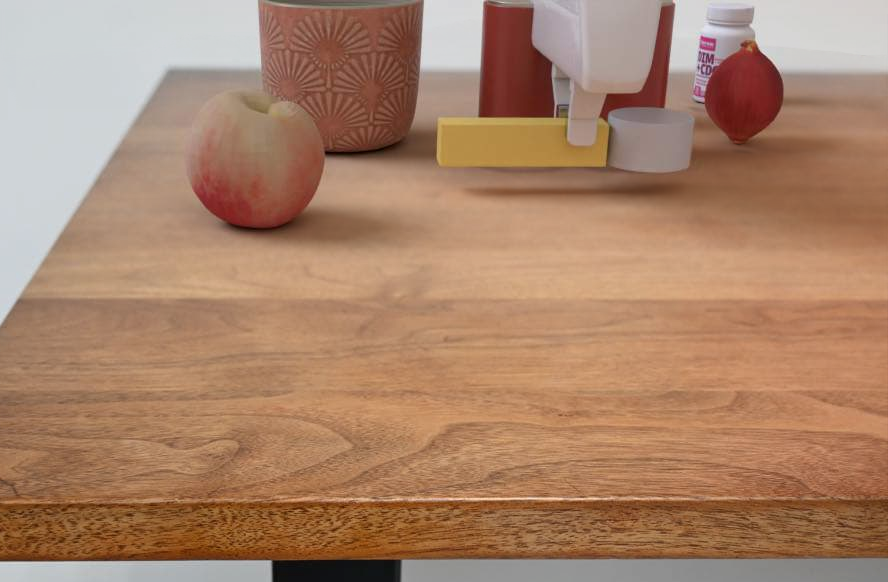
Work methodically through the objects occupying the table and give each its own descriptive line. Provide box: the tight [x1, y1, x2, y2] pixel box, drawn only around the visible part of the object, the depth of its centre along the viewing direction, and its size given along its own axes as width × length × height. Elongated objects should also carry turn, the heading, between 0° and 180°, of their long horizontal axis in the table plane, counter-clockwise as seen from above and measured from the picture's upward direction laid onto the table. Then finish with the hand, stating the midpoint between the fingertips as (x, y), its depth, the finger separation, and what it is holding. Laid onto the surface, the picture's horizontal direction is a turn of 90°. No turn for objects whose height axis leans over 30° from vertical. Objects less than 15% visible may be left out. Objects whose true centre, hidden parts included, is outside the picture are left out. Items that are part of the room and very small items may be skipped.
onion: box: [704, 39, 785, 145], centre depth 96 cm, size 6×6×8 cm
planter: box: [257, 0, 425, 153], centre depth 95 cm, size 12×12×11 cm
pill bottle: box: [692, 2, 756, 104], centre depth 112 cm, size 5×5×8 cm
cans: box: [477, 0, 676, 123], centre depth 92 cm, size 14×7×11 cm, turn 92°
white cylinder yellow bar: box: [436, 107, 696, 174], centre depth 83 cm, size 17×6×3 cm, turn 92°
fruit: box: [184, 87, 326, 229], centre depth 75 cm, size 8×8×8 cm
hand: (573, 137), depth 83 cm, fingers closed on white cylinder yellow bar, 2 cm apart
